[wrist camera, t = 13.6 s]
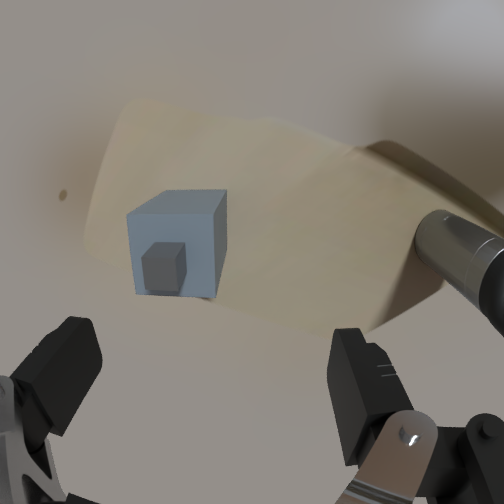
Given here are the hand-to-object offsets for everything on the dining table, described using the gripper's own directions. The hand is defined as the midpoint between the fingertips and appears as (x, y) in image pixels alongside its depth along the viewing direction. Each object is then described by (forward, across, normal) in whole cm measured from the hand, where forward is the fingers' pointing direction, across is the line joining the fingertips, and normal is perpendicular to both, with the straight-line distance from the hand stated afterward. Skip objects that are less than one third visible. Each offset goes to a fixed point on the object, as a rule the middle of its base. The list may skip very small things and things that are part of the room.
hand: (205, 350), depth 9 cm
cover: (+34, +7, +4) cm, 34 cm away
